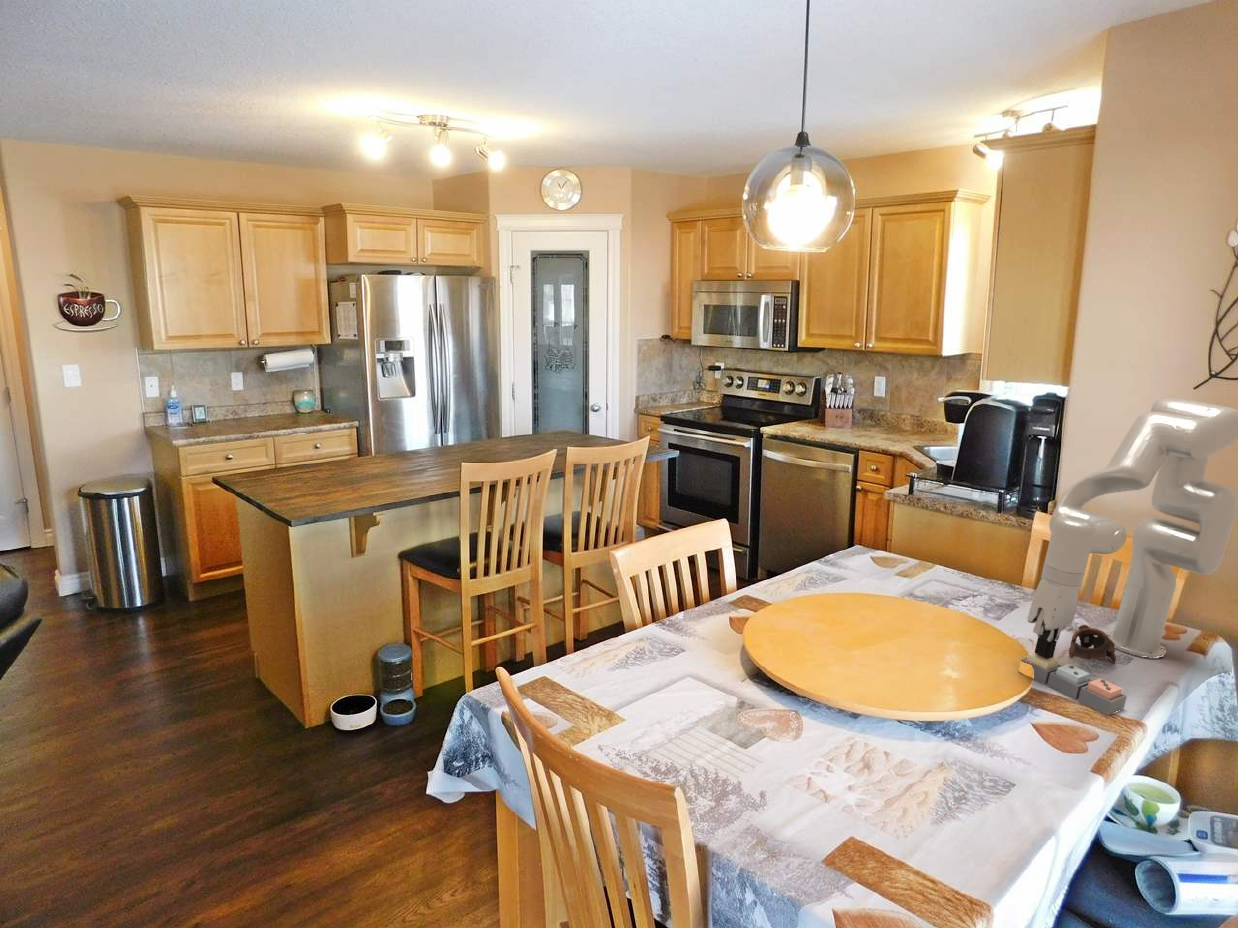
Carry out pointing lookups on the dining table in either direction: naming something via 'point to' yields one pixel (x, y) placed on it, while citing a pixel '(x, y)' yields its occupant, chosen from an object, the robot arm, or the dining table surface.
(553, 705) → the dining table surface
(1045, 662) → the button one
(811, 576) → the dining table surface
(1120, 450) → the robot arm
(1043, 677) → the tile one base
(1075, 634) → the pottery mug
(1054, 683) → the tile two base
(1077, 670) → the button two
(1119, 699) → the tile base
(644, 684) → the dining table surface
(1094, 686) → the button three
